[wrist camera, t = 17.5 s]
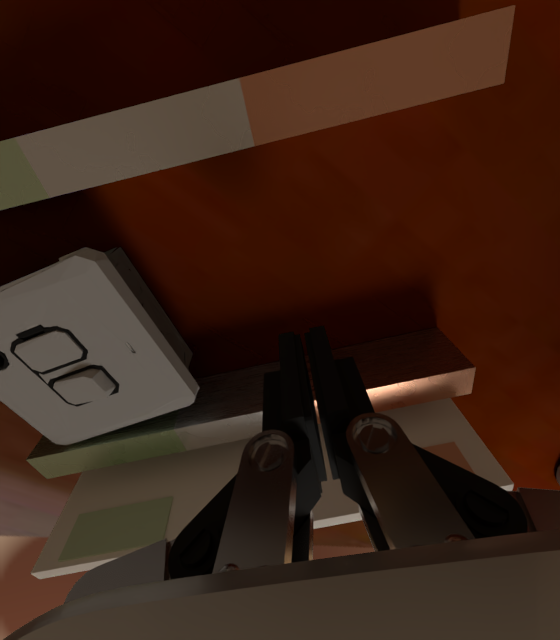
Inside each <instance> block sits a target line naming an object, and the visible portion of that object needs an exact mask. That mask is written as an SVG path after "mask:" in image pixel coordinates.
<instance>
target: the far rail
mask: <svg viewBox="0 0 560 640" xmlns="http://www.w3.org/2000/svg"><path fill="white" fill-rule="evenodd" d="M331 351H332V355H333V358H334V360H337V359H342V358H347V357H353V358H354V360H355V363H356V365H357V368H358V370H359V373H360V375H361V378H362V381H363V383H364V386H365V388H366V391H367V393H368V396H369V398H370V401H371V404H372V406H373V409H374V411H375V413H376V412H381V411H386V410H391V409H396V408H401V407H406V406H411V405H416V404H421V403H426V402H431V401H436V400H441V399H446V398H451V397H456V396H461V395H466V394H470V393H471V392H472V386H473V380H474V374H475V369H476V367H475V366H474V365H473V364H472V363H471V362H470V361H469V360H468V359H467V358H466V357H465V356H464V355H463V353H462V352H461V351H460V350H459V349H458V348H457V347H456V346H455V345H454V344H453V343H452V342H451V341H450V340H449V339H448V338H447V337H446V336H445V335H444V334H443V332H442V331H441V330H440V329H439V328H438V327H436V328H432V329H427V330H422V331H418V332H413V333H408V334H403V335H399V336H394V337H389V338H385V339H380V340H375V341H371V342H366V343H361V344H357V345H352V346H347V347H343V348H338V349H333V350H331ZM305 361H306V365H307V370H308V374H309V379H310V383H311V388H312V393H313V398H314V404H315V410H316V416H317V422H318V424H321V423H320V418H319V413H318V408H317V402H316V396H315V391H314V385H313V380H312V374H311V368H310V363H309V357H308V355H305ZM278 370H280V361H277V362H273V363H268V364H263V365H259V366H254V367H249V368H244V369H240V370H235V371H230V372H226V373H221V374H216V375H212V376H207V377H202V378H198V379H194V380H195V381H196V382H197V384H198V386H199V390H198V392H197V395H196V398H195V401H194V402H193V403H192V404H191V405H190V406H187V407H183V408H180V409H177V410H174V411H171V412H168V413H165V414H162V415H159V416H156V417H153V418H150V419H147V420H144V421H141V422H137V423H134V424H131V425H128V426H125V427H122V428H119V429H116V430H113V431H110V432H107V433H104V434H101V435H98V436H94V437H91V438H88V439H85V440H82V441H79V442H76V443H73V444H70V445H60V444H55V443H54V442H52V441H51V440H49V439H48V438H47V437H45V436H44V435H43V436H42V438H41V439H40V441H39V442H38V443H37V445H36V446H35V448H34V449H33V451H32V452H31V453H30V455H29V456H28V458H27V459H26V461H28V462H29V463H30V464H31V465H32V466H33V467H34V468H35V469H37V470H38V471H39V472H40V473H41V474H42V475H43V476H44V477H45V478H47V479H49V478H54V477H59V476H63V475H68V474H73V473H78V472H83V471H88V470H93V469H98V468H103V467H108V466H113V465H118V464H123V463H128V462H133V461H138V460H143V459H148V458H153V457H158V456H163V455H168V454H173V453H178V452H183V451H188V450H193V449H197V448H202V447H207V446H212V445H217V444H222V443H227V442H232V441H237V440H242V439H247V438H252V437H254V436H255V435H256V434H258V433H260V432H262V415H263V382H264V373H267V372H273V371H278Z"/></svg>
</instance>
